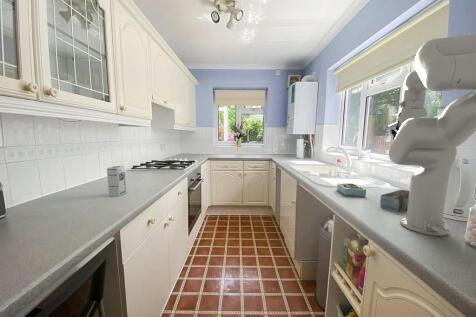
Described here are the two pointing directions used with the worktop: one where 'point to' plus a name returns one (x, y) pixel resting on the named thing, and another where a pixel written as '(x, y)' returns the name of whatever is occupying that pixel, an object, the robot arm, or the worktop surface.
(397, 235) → the worktop surface
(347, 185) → the small crate
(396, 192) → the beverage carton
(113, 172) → the syrup box
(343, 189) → the box
